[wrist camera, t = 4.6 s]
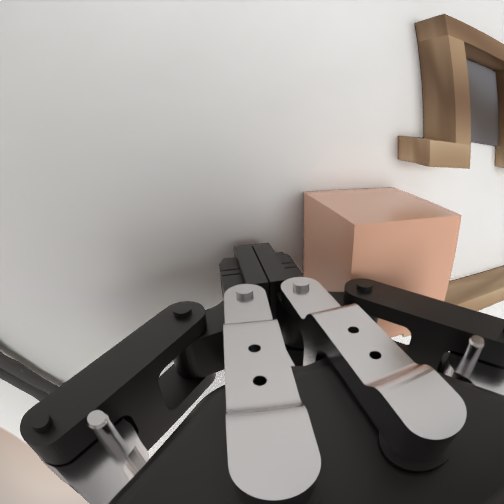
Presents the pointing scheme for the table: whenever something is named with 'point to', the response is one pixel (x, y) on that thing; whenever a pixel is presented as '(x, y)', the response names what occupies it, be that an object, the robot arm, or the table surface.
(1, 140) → the table surface
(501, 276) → the brown frame
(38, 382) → the person figure
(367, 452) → the robot arm
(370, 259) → the clay block
